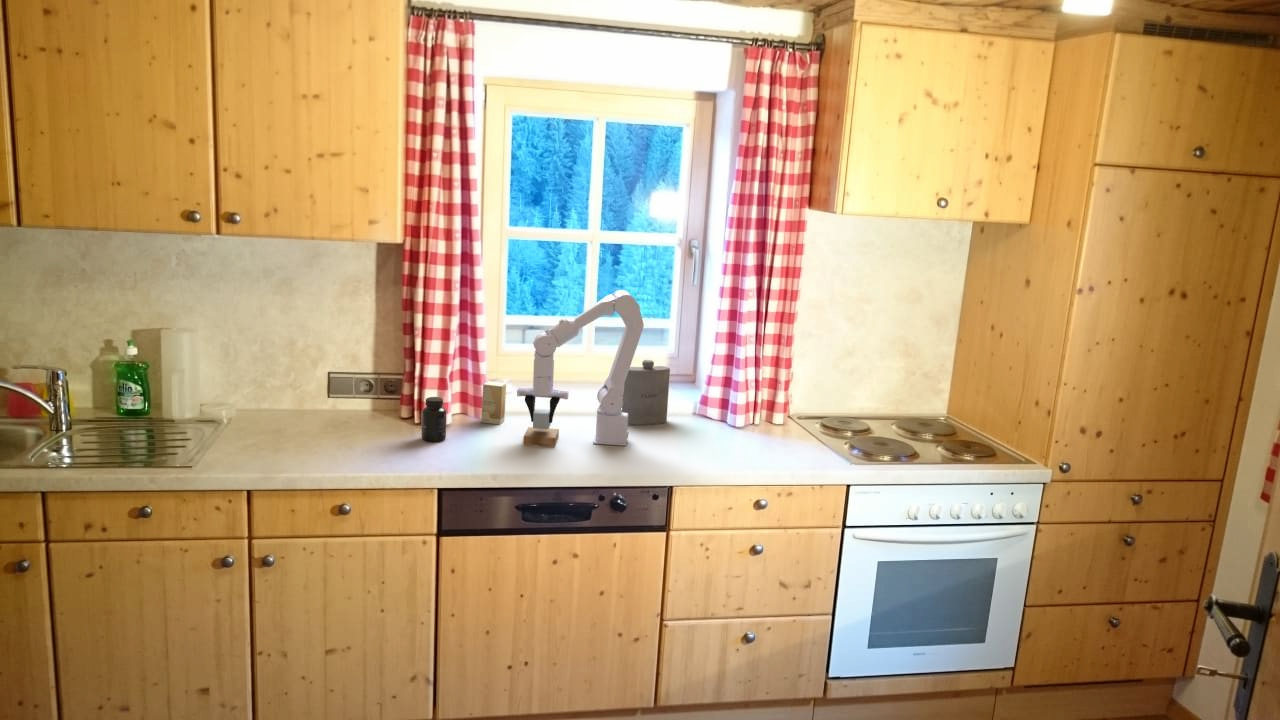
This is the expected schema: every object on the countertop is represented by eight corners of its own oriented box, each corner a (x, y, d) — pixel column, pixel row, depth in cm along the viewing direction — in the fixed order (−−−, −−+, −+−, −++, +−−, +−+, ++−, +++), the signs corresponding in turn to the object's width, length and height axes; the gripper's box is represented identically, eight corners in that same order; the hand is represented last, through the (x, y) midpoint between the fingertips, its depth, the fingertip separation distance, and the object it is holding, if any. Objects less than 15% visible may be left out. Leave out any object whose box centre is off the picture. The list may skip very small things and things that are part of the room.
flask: (624, 426, 290) (628, 363, 286) (619, 420, 295) (622, 359, 291) (669, 424, 295) (673, 362, 291) (663, 418, 300) (667, 358, 296)
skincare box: (480, 422, 285) (481, 383, 282) (485, 419, 289) (486, 380, 286) (501, 424, 284) (502, 385, 281) (505, 421, 288) (506, 382, 285)
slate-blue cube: (550, 424, 272) (551, 409, 271) (548, 429, 268) (549, 414, 267) (535, 423, 272) (535, 408, 271) (532, 428, 268) (533, 413, 267)
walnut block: (558, 438, 275) (558, 429, 274) (554, 448, 266) (555, 438, 265) (527, 437, 275) (528, 427, 274) (523, 446, 266) (523, 436, 266)
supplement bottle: (416, 440, 264) (416, 399, 262) (430, 434, 271) (430, 394, 268) (437, 444, 262) (437, 403, 259) (450, 438, 268) (451, 397, 266)
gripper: (570, 374, 270) (568, 419, 273) (520, 370, 270) (519, 416, 273) (567, 379, 263) (565, 426, 266) (516, 376, 263) (515, 422, 266)
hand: (541, 421), depth 269 cm, fingers closed on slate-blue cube, 4 cm apart
